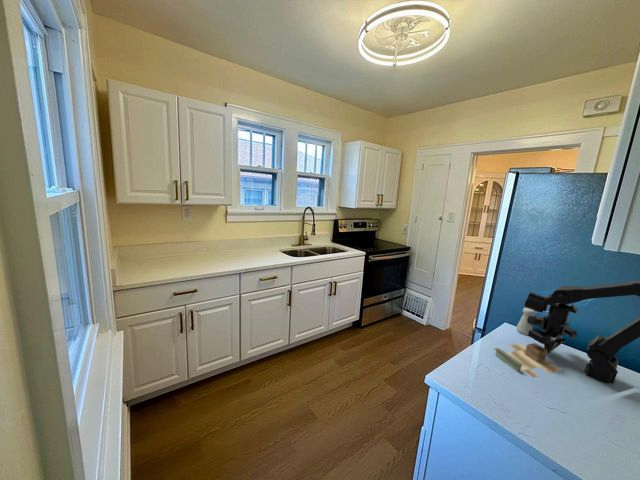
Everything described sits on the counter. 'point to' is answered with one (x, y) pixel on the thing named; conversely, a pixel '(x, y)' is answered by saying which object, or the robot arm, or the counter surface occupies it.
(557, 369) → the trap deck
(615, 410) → the counter surface
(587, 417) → the counter surface
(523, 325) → the salt shaker
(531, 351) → the walnut block
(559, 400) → the counter surface
